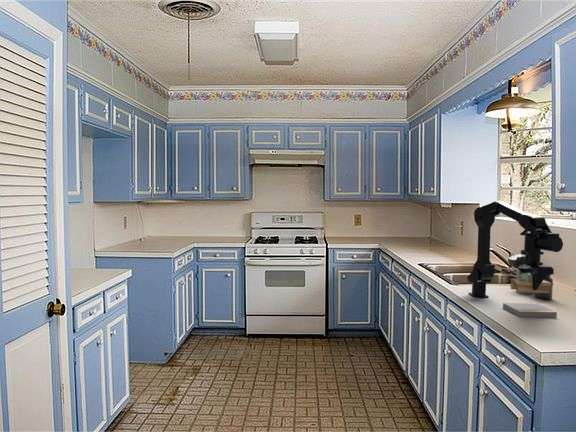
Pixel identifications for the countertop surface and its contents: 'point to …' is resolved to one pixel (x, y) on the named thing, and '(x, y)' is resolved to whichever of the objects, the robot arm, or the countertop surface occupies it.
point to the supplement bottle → (546, 295)
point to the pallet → (530, 286)
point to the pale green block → (527, 277)
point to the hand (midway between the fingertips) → (530, 288)
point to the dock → (529, 310)
